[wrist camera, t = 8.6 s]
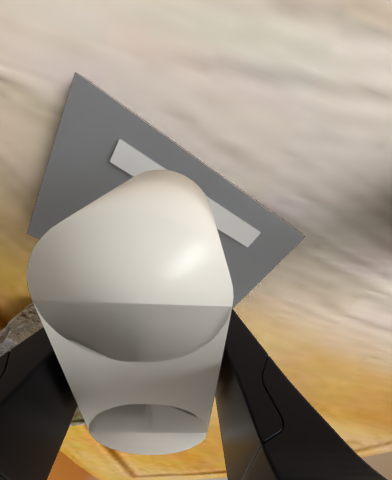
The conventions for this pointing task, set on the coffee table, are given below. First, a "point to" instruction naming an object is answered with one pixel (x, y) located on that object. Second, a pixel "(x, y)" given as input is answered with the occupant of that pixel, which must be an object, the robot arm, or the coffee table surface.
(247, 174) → the coffee table surface
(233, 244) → the charging dock
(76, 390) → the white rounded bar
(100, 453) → the coffee table surface
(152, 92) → the coffee table surface
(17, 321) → the geological specimen
